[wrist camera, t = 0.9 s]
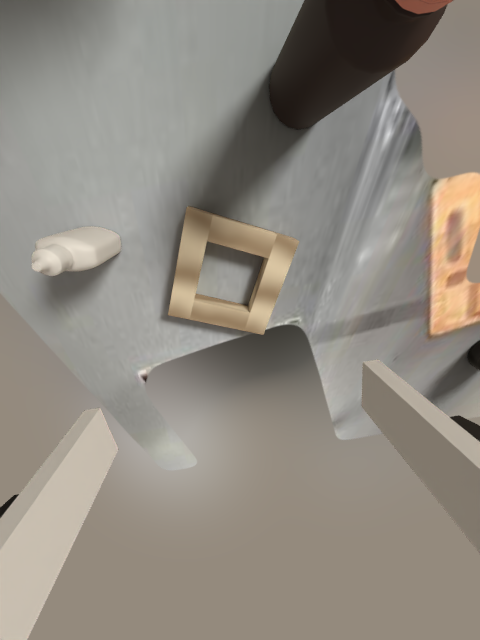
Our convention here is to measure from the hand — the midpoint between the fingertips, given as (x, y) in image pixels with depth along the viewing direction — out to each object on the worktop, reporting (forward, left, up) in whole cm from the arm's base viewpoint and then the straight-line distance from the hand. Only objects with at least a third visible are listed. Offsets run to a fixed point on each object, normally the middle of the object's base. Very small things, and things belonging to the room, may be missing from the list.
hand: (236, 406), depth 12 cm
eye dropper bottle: (0, -16, -24) cm, 29 cm away
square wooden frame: (0, +1, -24) cm, 24 cm away
